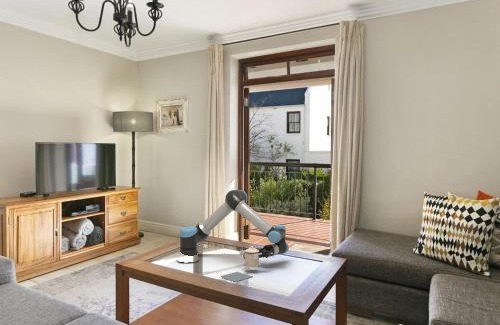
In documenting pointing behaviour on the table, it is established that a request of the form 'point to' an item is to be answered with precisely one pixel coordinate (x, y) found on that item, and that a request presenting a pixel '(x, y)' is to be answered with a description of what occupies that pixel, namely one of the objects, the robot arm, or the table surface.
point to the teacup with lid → (251, 257)
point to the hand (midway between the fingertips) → (246, 255)
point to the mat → (236, 276)
